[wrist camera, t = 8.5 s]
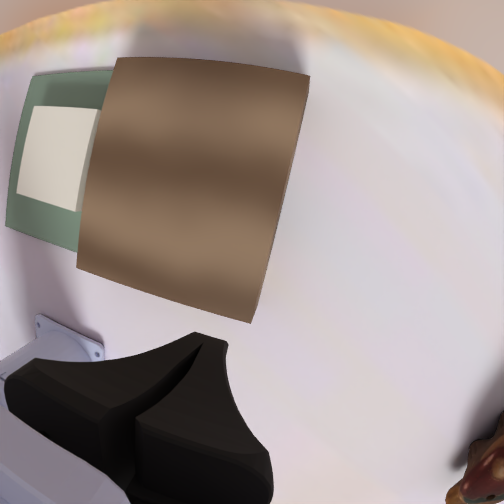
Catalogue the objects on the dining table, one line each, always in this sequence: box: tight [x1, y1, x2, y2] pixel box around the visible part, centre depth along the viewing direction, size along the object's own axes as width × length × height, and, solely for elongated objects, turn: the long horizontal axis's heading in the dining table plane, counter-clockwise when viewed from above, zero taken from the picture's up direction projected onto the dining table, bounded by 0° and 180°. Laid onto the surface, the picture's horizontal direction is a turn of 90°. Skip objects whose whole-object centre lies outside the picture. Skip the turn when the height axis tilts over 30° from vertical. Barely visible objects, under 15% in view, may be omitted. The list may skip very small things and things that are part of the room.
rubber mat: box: [5, 70, 113, 252], centre depth 21 cm, size 14×12×1 cm
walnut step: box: [76, 57, 310, 324], centre depth 18 cm, size 14×12×3 cm
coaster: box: [16, 106, 101, 212], centre depth 19 cm, size 7×7×2 cm
